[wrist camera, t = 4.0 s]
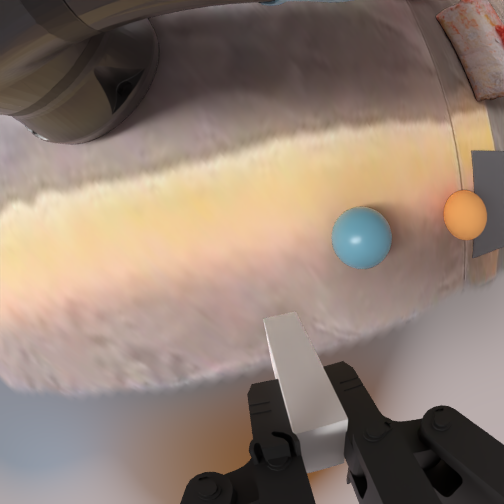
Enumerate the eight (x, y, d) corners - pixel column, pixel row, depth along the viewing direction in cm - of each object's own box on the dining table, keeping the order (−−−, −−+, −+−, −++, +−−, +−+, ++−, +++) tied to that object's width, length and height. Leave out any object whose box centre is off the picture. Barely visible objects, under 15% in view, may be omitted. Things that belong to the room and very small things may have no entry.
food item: (424, 9, 20) (472, -17, 10) (456, 10, 19) (500, -9, 10) (471, 104, 24) (528, 98, 14) (497, 95, 23) (547, 91, 14)
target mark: (472, 257, 29) (473, 258, 29) (471, 150, 25) (472, 150, 25) (519, 239, 30) (520, 239, 30) (519, 152, 26) (520, 152, 26)
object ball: (434, 237, 28) (466, 250, 23) (433, 189, 26) (467, 196, 21) (464, 229, 28) (494, 240, 23) (463, 185, 26) (495, 191, 21)
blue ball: (326, 263, 27) (348, 285, 22) (319, 207, 26) (343, 218, 20) (375, 252, 28) (403, 270, 22) (371, 198, 26) (402, 207, 21)
